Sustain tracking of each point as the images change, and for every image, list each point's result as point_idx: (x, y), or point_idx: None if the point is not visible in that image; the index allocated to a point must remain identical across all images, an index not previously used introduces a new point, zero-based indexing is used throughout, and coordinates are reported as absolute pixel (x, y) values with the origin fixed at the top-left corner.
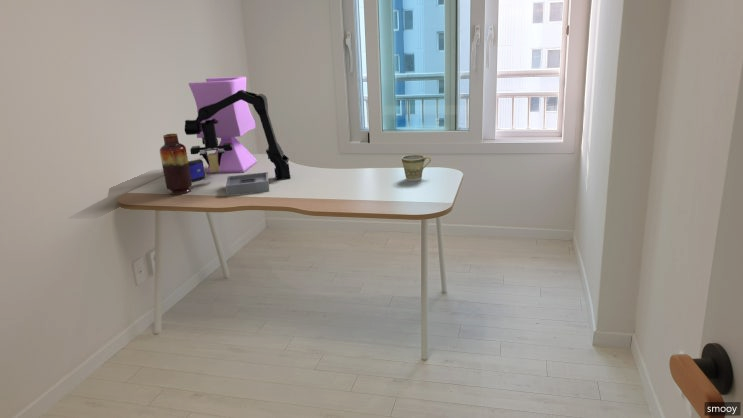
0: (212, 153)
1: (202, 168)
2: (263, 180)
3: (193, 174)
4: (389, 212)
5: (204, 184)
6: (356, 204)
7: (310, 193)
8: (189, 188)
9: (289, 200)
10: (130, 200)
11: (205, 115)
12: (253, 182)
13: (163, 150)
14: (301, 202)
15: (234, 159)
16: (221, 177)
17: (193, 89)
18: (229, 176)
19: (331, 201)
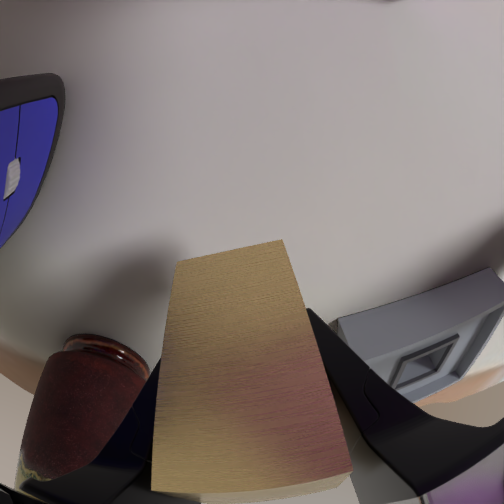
0: (242, 494)
1: (14, 123)
2: (467, 343)
3: (12, 219)
4: (495, 384)
5: (158, 277)
6: (494, 375)
7: (492, 353)
8: (136, 366)
9: (448, 387)
10: (21, 383)
11: None
12: (426, 396)
13: None
14: (456, 389)
15: None
16: (233, 87)
17: None
18: (365, 362)
19: (485, 375)
